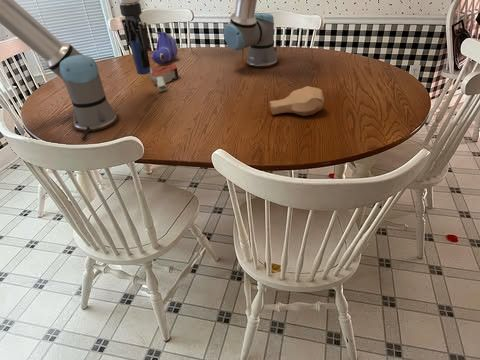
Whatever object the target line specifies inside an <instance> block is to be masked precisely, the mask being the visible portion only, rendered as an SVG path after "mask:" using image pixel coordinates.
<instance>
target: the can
mask: <svg viewBox="0 0 480 360" xmlns="http://www.w3.org/2000/svg"><path fill="white" fill-rule="evenodd" d="M131 47H132V49H131V52H132V51H133V54H132V57H133V56H134V58H133V62H134V61H135V63H134V66H135V69H136V73H137V75H149V74H150V72H151V71H150V68H151V66H150V67H147V68H143V63H142V58H141V53H140V50H141V48H140V45H139V42H138V39H137V38H136V40H132V41H131Z"/></svg>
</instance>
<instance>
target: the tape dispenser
mask: <svg viewBox="0 0 480 360" xmlns="http://www.w3.org/2000/svg"><path fill="white" fill-rule="evenodd" d="M165 68H166V69H165ZM163 69H164V70H163ZM150 71H151V72H150V73H149V75H150V77H151V80H152V81H153V83H154V84H155V86H157V88H156V89H157V92H159V93H160V92H165V91H167V89H168V86H167V83H170V82H172V80H177V79H178V78H179V72H178V67H177V64H169V65H161V67H159V66H156V67H150Z"/></svg>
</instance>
